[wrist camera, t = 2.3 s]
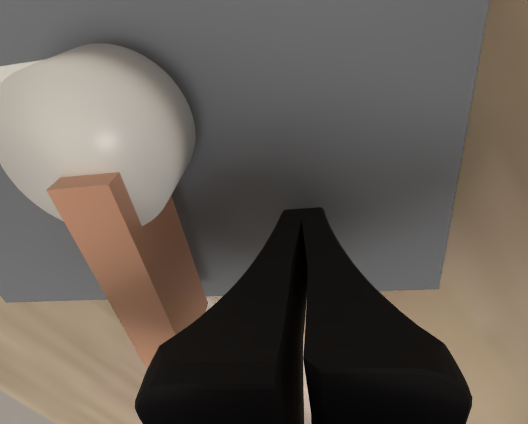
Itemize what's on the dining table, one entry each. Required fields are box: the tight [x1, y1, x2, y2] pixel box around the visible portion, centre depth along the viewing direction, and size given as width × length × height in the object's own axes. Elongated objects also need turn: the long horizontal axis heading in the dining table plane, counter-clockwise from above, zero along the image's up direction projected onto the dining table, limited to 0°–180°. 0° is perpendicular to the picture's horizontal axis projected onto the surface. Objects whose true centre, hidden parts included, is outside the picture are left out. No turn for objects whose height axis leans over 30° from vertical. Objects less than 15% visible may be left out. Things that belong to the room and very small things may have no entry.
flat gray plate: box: [0, 0, 489, 302], centre depth 12 cm, size 20×17×2 cm
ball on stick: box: [0, 43, 208, 367], centre depth 11 cm, size 4×10×3 cm, turn 8°
